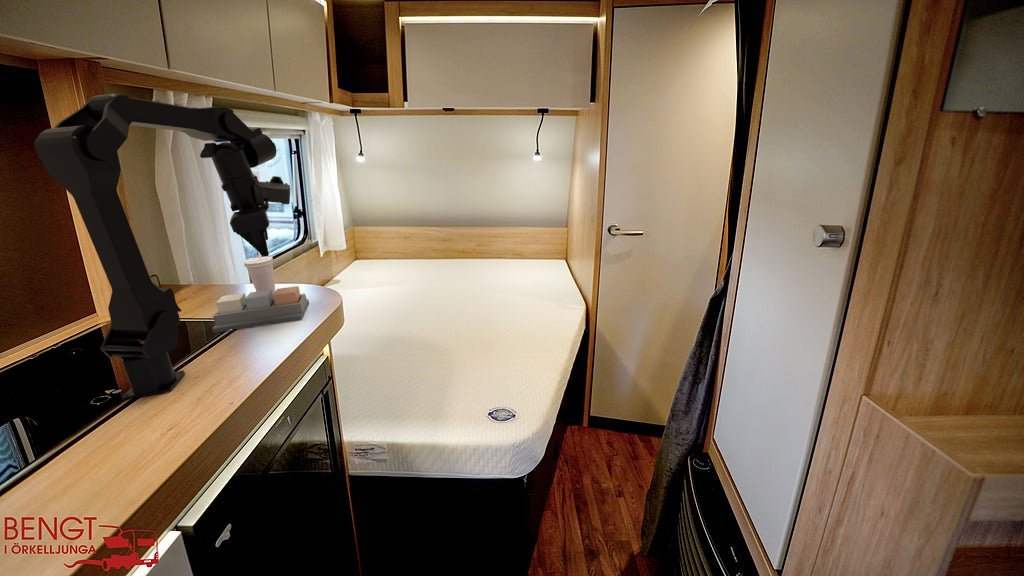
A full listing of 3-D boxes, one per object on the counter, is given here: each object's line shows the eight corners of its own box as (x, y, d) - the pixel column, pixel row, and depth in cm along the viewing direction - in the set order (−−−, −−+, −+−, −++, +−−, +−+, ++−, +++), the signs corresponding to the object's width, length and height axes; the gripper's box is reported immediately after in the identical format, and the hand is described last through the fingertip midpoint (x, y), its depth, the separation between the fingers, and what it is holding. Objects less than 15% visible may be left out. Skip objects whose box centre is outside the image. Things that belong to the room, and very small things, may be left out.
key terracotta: (297, 302, 102) (295, 291, 101) (275, 305, 101) (273, 294, 100) (300, 296, 106) (298, 285, 105) (279, 299, 105) (277, 288, 104)
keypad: (301, 319, 100) (298, 306, 99) (213, 333, 96) (209, 319, 95) (309, 303, 110) (306, 291, 109) (229, 314, 106) (226, 302, 105)
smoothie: (287, 294, 117) (274, 240, 112) (262, 303, 112) (248, 246, 107) (272, 291, 120) (259, 238, 116) (248, 299, 115) (233, 244, 111)
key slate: (270, 306, 100) (267, 295, 100) (247, 309, 99) (244, 298, 99) (274, 300, 104) (271, 289, 104) (253, 303, 103) (250, 292, 103)
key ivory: (242, 310, 99) (239, 299, 98) (219, 313, 98) (216, 302, 97) (247, 303, 103) (244, 293, 102) (225, 306, 102) (222, 296, 101)
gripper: (281, 176, 86) (308, 252, 94) (278, 157, 101) (302, 224, 109) (214, 190, 83) (248, 268, 91) (222, 168, 98) (251, 236, 106)
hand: (265, 247), depth 99 cm, fingers open, 9 cm apart
